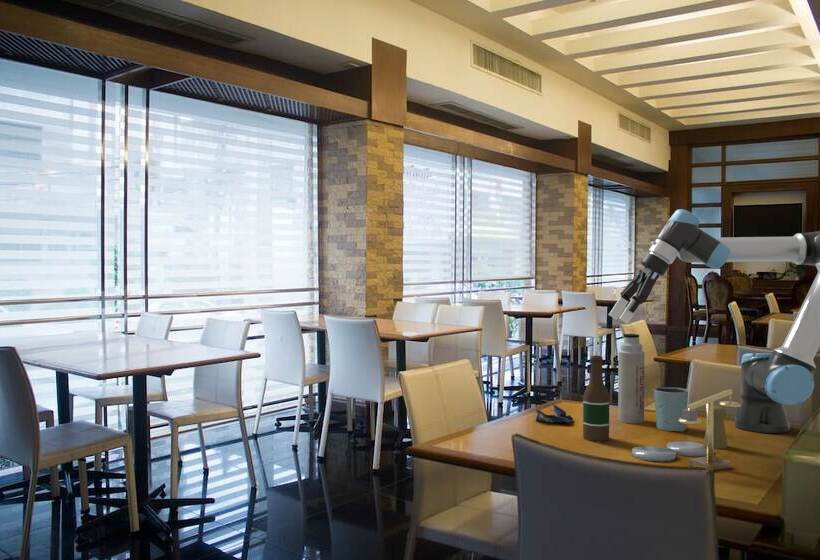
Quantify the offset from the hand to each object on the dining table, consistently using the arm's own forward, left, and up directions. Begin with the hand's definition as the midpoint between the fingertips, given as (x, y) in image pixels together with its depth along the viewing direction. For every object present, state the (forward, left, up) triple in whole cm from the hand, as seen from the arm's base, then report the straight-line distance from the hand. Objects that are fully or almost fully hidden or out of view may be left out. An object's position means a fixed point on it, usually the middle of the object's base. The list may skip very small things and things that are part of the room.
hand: (617, 319), depth 205 cm
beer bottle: (+7, 0, -35) cm, 35 cm away
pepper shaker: (-18, +20, -35) cm, 44 cm away
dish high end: (-7, +21, -34) cm, 41 cm away
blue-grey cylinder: (-22, -1, -35) cm, 41 cm away
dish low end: (+5, +21, -34) cm, 40 cm away
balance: (-1, +34, -34) cm, 48 cm away
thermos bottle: (-18, -14, -35) cm, 41 cm away
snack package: (+5, -23, -35) cm, 42 cm away
